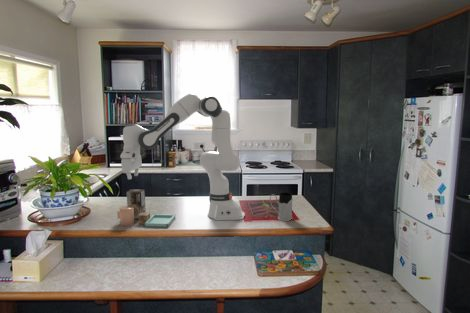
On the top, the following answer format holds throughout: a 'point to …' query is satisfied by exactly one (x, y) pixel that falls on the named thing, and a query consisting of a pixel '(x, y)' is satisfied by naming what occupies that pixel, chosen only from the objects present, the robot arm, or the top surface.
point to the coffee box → (136, 201)
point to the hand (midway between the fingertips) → (132, 177)
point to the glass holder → (284, 206)
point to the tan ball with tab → (126, 215)
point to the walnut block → (143, 217)
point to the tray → (160, 220)
